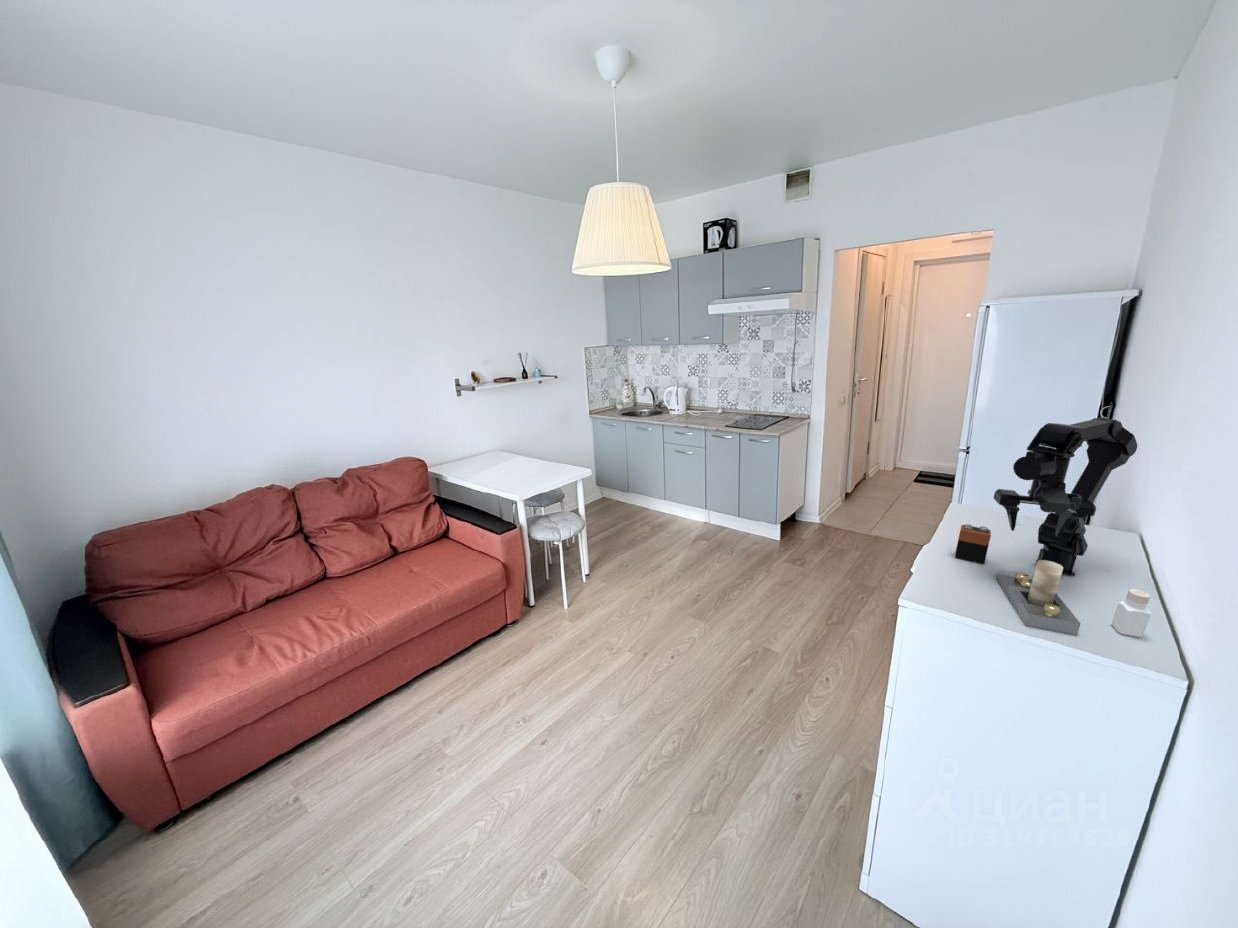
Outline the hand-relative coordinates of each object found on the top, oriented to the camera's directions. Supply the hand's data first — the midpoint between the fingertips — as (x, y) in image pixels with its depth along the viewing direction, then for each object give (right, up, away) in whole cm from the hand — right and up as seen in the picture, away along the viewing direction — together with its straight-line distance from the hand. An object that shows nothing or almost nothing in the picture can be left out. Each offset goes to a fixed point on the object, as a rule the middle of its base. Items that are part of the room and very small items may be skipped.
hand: (1034, 533), depth 123 cm
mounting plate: (-7, -16, -8) cm, 19 cm away
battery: (-6, -10, +15) cm, 18 cm away
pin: (-9, -17, -11) cm, 21 cm away
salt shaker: (+4, -19, -18) cm, 27 cm away
